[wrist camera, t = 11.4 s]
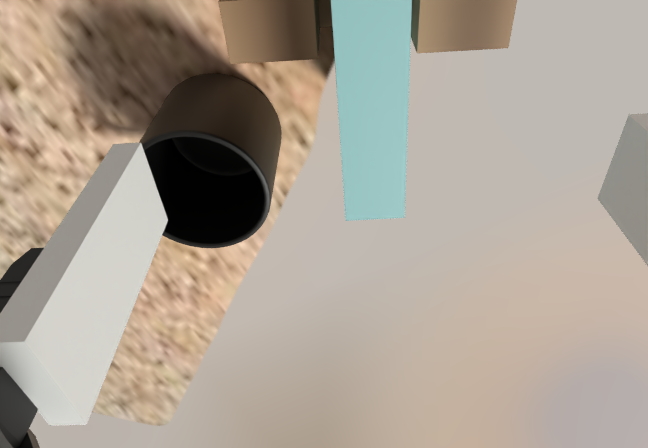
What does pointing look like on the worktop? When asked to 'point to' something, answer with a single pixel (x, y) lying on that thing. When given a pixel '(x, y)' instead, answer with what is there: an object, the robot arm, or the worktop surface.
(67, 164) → the worktop surface
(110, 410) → the worktop surface
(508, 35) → the walnut u-shaped block
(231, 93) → the mug
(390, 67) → the teal flat block
